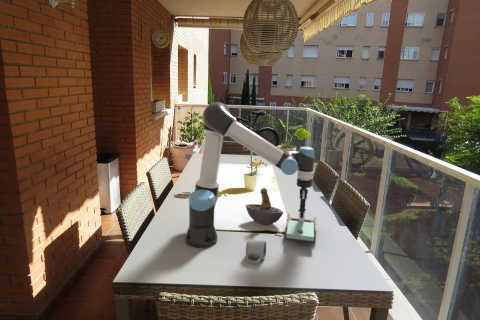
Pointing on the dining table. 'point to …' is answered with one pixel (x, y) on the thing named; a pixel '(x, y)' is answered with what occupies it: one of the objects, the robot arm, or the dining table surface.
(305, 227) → the lid
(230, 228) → the dining table surface
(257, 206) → the planter
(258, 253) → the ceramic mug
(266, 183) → the dining table surface
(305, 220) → the box
